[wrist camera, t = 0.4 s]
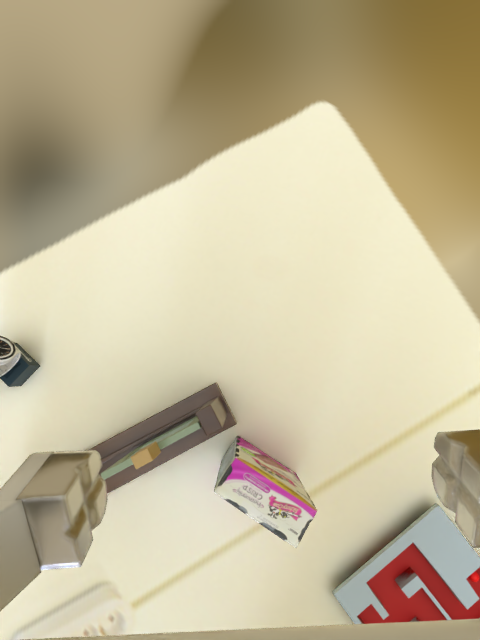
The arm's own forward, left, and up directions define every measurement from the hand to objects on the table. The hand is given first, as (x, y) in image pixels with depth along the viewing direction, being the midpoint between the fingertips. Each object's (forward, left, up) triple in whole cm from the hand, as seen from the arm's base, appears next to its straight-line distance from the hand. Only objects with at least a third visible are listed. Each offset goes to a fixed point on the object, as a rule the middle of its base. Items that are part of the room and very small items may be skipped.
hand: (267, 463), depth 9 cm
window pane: (-1, +13, -48) cm, 50 cm away
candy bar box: (-12, +4, -51) cm, 52 cm away
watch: (+20, +31, -51) cm, 63 cm away
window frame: (-1, +21, -51) cm, 55 cm away
